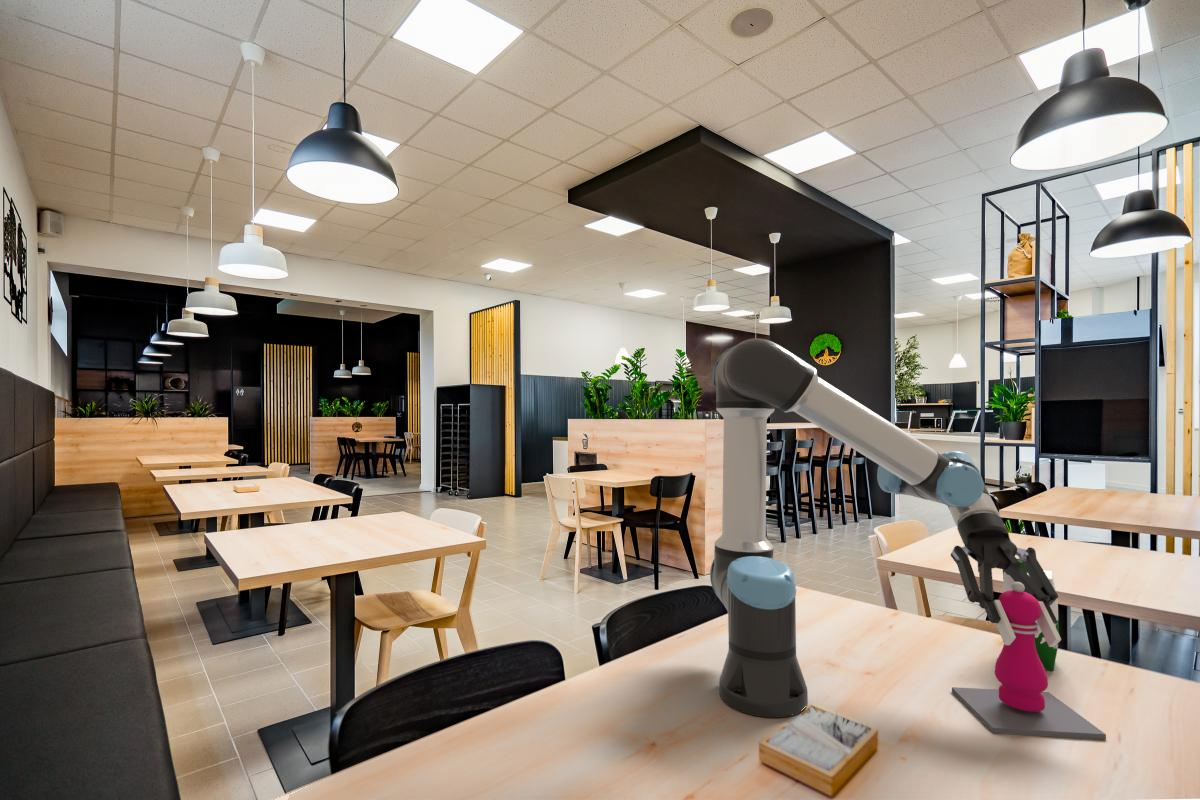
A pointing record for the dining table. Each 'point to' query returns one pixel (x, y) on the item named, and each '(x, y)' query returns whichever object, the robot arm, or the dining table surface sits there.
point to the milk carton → (1042, 647)
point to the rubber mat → (1027, 716)
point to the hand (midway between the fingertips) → (1032, 642)
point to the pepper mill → (1021, 654)
